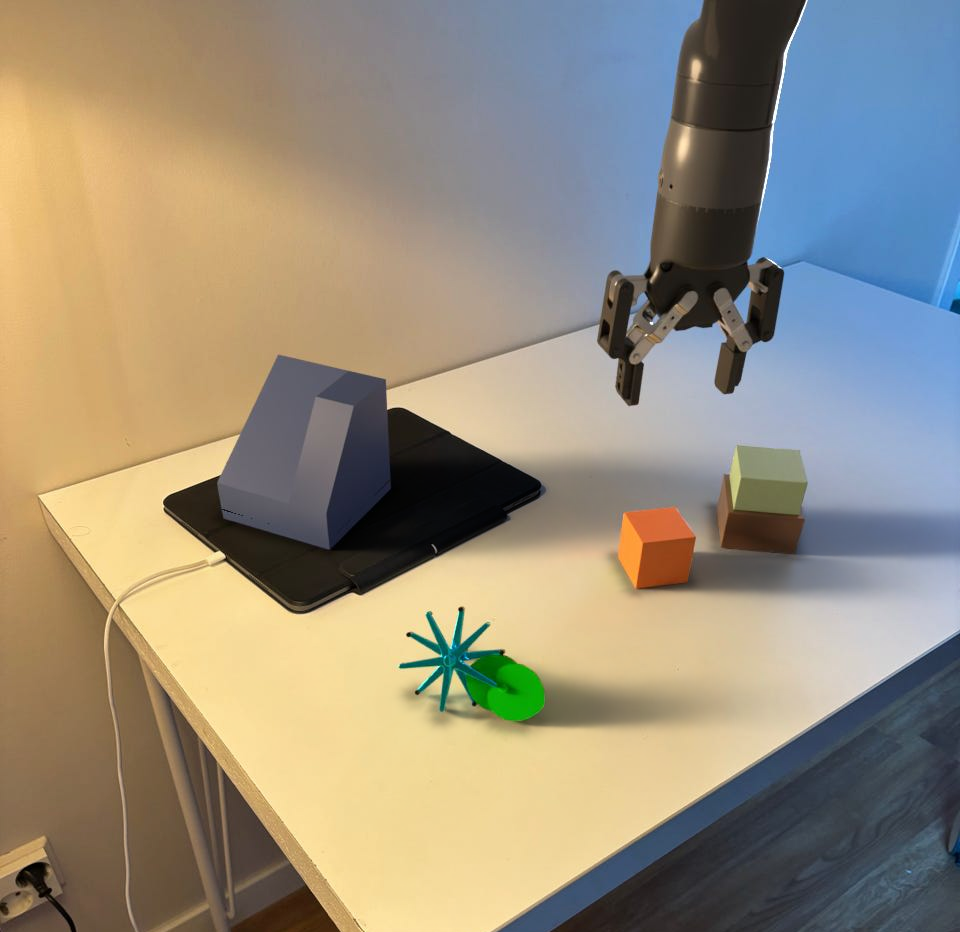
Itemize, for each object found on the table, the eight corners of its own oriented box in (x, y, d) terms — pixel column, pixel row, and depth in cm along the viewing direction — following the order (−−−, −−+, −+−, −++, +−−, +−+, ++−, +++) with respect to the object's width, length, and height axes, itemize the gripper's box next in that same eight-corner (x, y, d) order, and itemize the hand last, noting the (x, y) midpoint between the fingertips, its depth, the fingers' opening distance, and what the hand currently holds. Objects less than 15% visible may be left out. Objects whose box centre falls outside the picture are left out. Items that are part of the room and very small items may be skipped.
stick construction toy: (379, 680, 75) (424, 590, 74) (400, 669, 82) (441, 586, 81) (517, 755, 74) (565, 665, 73) (527, 737, 81) (571, 654, 80)
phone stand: (223, 518, 96) (203, 405, 88) (290, 461, 104) (278, 354, 97) (329, 549, 92) (318, 435, 85) (390, 488, 101) (385, 379, 93)
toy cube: (667, 551, 93) (675, 506, 90) (687, 582, 90) (696, 537, 86) (617, 557, 92) (623, 512, 89) (635, 589, 89) (642, 543, 85)
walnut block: (787, 514, 98) (796, 479, 96) (795, 554, 93) (805, 519, 91) (716, 508, 99) (723, 473, 96) (720, 548, 94) (728, 512, 91)
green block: (791, 481, 96) (800, 449, 93) (799, 515, 91) (808, 482, 89) (729, 476, 96) (735, 444, 94) (733, 510, 92) (740, 477, 89)
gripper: (640, 211, 66) (614, 428, 77) (826, 196, 70) (776, 406, 80) (599, 179, 72) (579, 385, 82) (773, 167, 75) (733, 367, 86)
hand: (676, 395), depth 81 cm, fingers open, 8 cm apart
